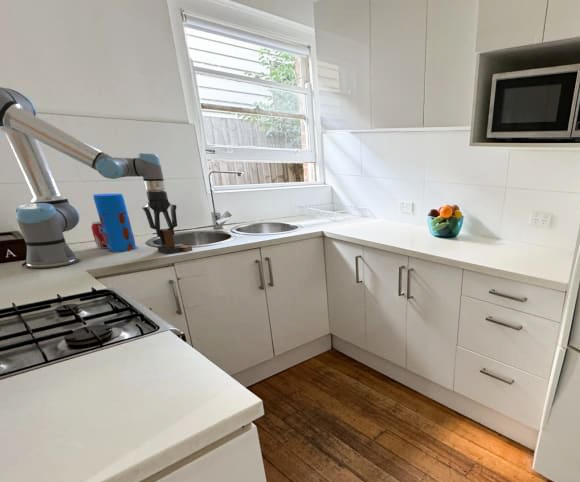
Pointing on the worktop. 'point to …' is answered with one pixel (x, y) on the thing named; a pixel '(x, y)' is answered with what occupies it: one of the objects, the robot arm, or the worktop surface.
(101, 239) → the soda can
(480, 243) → the worktop surface
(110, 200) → the thermos
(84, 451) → the worktop surface
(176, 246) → the cork chip
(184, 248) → the cork chip
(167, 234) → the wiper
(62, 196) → the robot arm
